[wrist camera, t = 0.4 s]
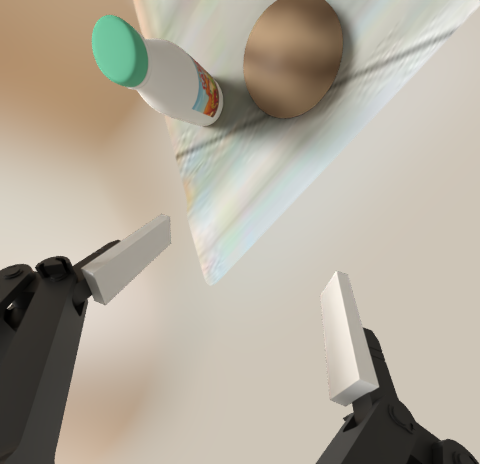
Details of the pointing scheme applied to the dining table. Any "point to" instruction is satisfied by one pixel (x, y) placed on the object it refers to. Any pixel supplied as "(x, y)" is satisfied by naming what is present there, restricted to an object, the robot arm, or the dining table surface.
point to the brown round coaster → (292, 56)
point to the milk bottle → (156, 72)
